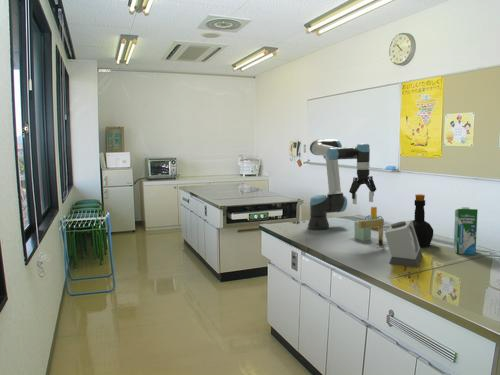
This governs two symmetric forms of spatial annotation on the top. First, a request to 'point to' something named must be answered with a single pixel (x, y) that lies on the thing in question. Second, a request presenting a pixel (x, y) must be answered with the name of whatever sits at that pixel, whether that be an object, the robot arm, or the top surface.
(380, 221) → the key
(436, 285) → the top surface
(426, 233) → the bottle
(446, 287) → the top surface
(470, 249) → the milk carton
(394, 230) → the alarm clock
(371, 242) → the plate
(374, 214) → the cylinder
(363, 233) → the pale green block
